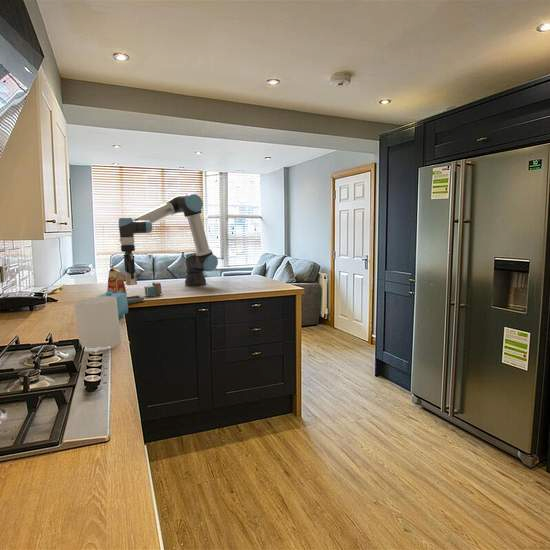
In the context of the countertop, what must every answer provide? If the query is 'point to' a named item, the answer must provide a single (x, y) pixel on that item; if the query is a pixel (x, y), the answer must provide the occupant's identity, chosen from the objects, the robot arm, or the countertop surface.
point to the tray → (134, 299)
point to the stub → (129, 279)
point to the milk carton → (115, 281)
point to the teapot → (119, 302)
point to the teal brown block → (153, 289)
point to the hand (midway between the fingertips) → (131, 283)
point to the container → (98, 322)
